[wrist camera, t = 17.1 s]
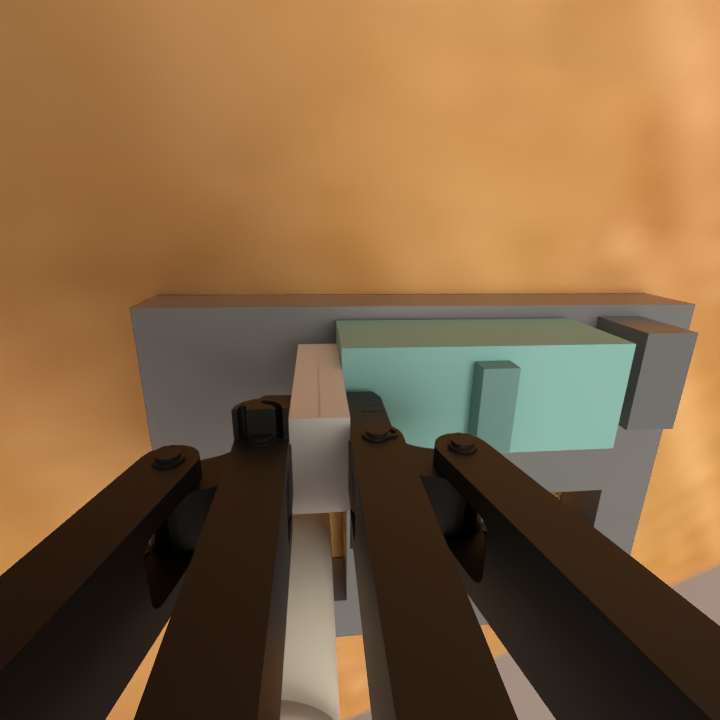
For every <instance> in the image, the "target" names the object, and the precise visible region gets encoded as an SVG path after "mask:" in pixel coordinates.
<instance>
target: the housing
mask: <svg viewBox="0 0 720 720" xmlns="http://www.w3.org/2000/svg"><path fill="white" fill-rule="evenodd" d="M694 308H695V304H691V303H686V302H682V301H677V300H673V299H669V298H664V297H660V296H655V295H651V294H646V293H632V294H353V295H156V296H154V297H152V298H150V299H148V300H146V301H144V302H142V303H140V304H137V305H135V306H133V307H131V308H130V312H131V318H132V324H133V331H134V337H135V344H136V350H137V356H138V363H139V369H140V375H141V382H142V388H143V395H144V401H145V407H146V414H147V420H148V426H149V433H150V439H151V446H152V451H154V450H156V449H159V448H160V447H163V446H169V445H186V446H191V447H194V448H195V449H197V450H198V451H199V455H200V460H203V459H207V458H212V457H216V456H220V455H223V454H226V453H228V452H230V451H231V448H232V445H233V443H234V435H233V424H232V413H231V410H232V409H233V408H234V407H235V406H236V405H238V404H240V403H242V402H244V401H248V400H252V399H260V398H261V397H263V396H264V395H292V389H293V381H294V373H295V366H296V358H297V351H298V344H336V320H431V319H536V318H571V319H573V320H576V321H578V322H581V323H584V324H586V325H589V326H591V327H594V328H596V329H599V330H602V331H604V332H607V333H609V334H612V335H615V336H617V337H620V338H622V339H625V340H628V341H630V342H633V343H635V344H636V348H635V352H634V357H633V361H632V366H631V370H630V374H629V379H628V383H627V388H626V392H625V397H624V401H623V406H622V410H621V415H620V419H619V424H618V428H617V433H616V437H615V442H614V446H613V448H608V449H584V450H560V451H536V452H513V453H501V454H502V455H503V456H504V457H506V458H507V459H508V460H509V461H511V462H512V463H513V464H514V465H516V466H517V467H518V468H520V469H521V470H522V471H523V472H525V473H526V474H527V475H528V476H530V477H531V478H532V479H534V480H535V481H536V482H537V483H539V484H540V485H541V486H542V487H544V488H545V489H546V490H548V491H549V492H550V493H551V492H562V498H561V502H563V503H564V504H565V505H567V506H568V507H569V508H570V509H572V510H573V511H574V512H575V513H577V514H578V515H579V516H581V517H582V518H583V519H584V520H586V521H587V522H588V523H589V524H591V525H592V526H593V527H594V528H596V529H597V530H598V531H600V532H601V533H602V534H603V535H605V536H606V537H607V538H608V539H610V540H611V541H612V542H614V543H615V544H616V545H617V546H619V547H620V548H621V549H622V550H624V551H625V552H626V553H627V554H629V555H630V553H631V550H632V546H633V542H634V538H635V534H636V530H637V527H638V523H639V519H640V515H641V511H642V507H643V503H644V500H645V496H646V492H647V488H648V484H649V480H650V477H651V473H652V469H653V465H654V461H655V457H656V454H657V450H658V446H659V442H660V438H661V434H662V430H663V429H673V425H674V421H675V418H676V414H677V410H678V406H679V403H680V399H681V395H682V391H683V388H684V384H685V380H686V377H687V373H688V369H689V365H690V362H691V358H692V354H693V350H694V347H695V343H696V339H697V336H698V333H697V332H693V331H690V330H689V327H690V323H691V319H692V315H693V311H694ZM482 521H483V519H482ZM483 522H484V521H483ZM332 571H333V592H334V612H335V633H336V637H342V636H354V635H363V633H362V625H361V616H360V607H359V598H358V589H357V580H356V571H355V562H354V554H353V549H350V511H348V512H343V557H339V558H332ZM467 595H468V594H467ZM468 597H469V596H468ZM469 600H470V602H471V604H472V607H473V609H474V612H475V614H476V617H477V619H478V622H479V624H480V625H486V624H488V622H487V621H486V620H485V618H484V617H483V615H482V614H481V612H480V611H479V610H478V608H477V607H476V605H475V604H474V603H473V601H472V600H471V598H470V597H469Z"/></svg>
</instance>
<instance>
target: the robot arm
mask: <svg viewBox="0 0 720 720" xmlns="http://www.w3.org/2000/svg"><path fill="white" fill-rule="evenodd" d="M231 413H232V424H233V435H234V443H233V445H232V448H231V451H230V452H228V453H226V454H223V455H220V456H216V457H212V458H207V459H203V460H200V455H199V451H198V450H197V449H195V448H194V447H191V446H186V445H169V446H163V447H160V448H159V449H156V450H154V451H151V452H149V453H147V454H146V455H144V456H143V457H141V458H140V459H139V460H138V461H136V462H135V463H134V464H133V465H132V466H131V467H129V468H128V469H127V470H126V471H125V472H123V473H122V474H121V475H120V476H119V477H117V478H116V479H115V480H114V481H113V482H112V483H110V484H109V485H108V486H107V487H106V488H104V489H103V490H102V491H101V492H100V493H98V494H97V495H96V496H95V497H94V498H92V499H91V500H90V501H89V502H88V503H87V504H85V505H84V506H83V507H82V508H81V509H79V510H78V511H77V512H76V513H75V514H73V515H72V516H71V517H70V518H69V519H68V520H66V521H65V522H64V523H63V524H62V525H60V526H59V527H58V528H57V529H56V530H54V531H53V532H52V533H51V534H50V535H49V536H47V537H46V538H45V539H44V540H43V541H41V542H40V543H39V544H38V545H37V546H35V547H34V548H33V549H32V550H31V551H30V552H28V553H27V554H26V555H25V556H24V557H22V558H21V559H20V560H19V561H18V562H16V563H15V564H14V565H13V566H12V567H11V568H9V569H8V570H7V571H6V572H5V573H3V574H2V575H1V576H0V720H105V719H106V718H107V716H108V714H109V713H110V711H111V710H112V708H113V707H114V705H115V703H116V702H117V700H118V699H119V697H120V696H121V694H122V692H123V691H124V689H125V688H126V686H127V685H128V683H129V681H130V680H131V678H132V677H133V675H134V673H135V672H136V670H137V669H138V667H139V666H140V664H141V662H142V661H143V659H144V658H145V656H146V655H147V653H148V651H149V650H150V648H151V647H152V645H153V644H154V642H155V640H156V639H157V637H158V636H159V634H160V633H161V631H162V629H163V628H164V626H165V625H166V623H167V622H168V620H169V618H170V617H171V618H170V620H169V623H168V626H167V629H166V632H165V634H164V637H163V640H162V643H161V645H160V648H159V651H158V654H157V657H156V659H155V662H154V665H153V668H152V670H151V673H150V676H149V679H148V682H147V684H146V687H145V690H144V693H143V695H142V698H141V701H140V704H139V707H138V709H137V712H136V715H135V718H134V720H280V710H281V695H282V680H283V665H284V651H285V636H286V621H287V606H288V591H289V577H290V562H291V547H292V532H293V520H292V512H293V514H311V513H330V512H348V511H350V549H353V554H354V562H355V571H356V580H357V589H358V598H359V607H360V616H361V625H362V633H363V642H364V651H365V660H366V669H367V678H368V687H369V696H370V705H371V713H372V720H518V718H517V716H516V714H515V711H514V708H513V706H512V704H511V701H510V698H509V696H508V693H507V691H506V689H505V686H504V684H503V681H502V679H501V676H500V674H499V671H498V669H497V666H496V664H495V661H494V659H493V656H492V654H491V651H490V649H489V646H488V644H487V642H486V639H485V637H484V634H483V632H482V629H481V627H480V624H479V622H478V619H477V617H476V614H475V612H474V609H473V607H472V604H471V602H470V600H469V597H470V598H471V600H472V601H473V603H474V604H475V605H476V607H477V608H478V610H479V611H480V612H481V614H482V615H483V617H484V618H485V620H486V621H487V622H488V624H489V625H490V627H491V628H492V629H493V631H494V632H495V634H496V635H497V637H498V638H499V639H500V641H501V642H502V644H503V645H504V646H505V648H506V649H507V651H508V652H509V654H510V655H511V656H512V658H513V659H514V661H515V662H516V663H517V665H518V666H519V668H520V669H521V671H522V672H523V673H524V675H525V676H526V678H527V679H528V680H529V682H530V683H531V685H532V686H533V687H534V689H535V690H536V692H537V693H538V694H539V696H540V697H541V699H542V700H543V702H544V703H545V705H546V706H547V707H548V709H549V710H550V711H551V713H552V714H553V716H554V717H555V719H556V720H720V626H719V625H718V624H716V623H715V622H714V621H713V620H711V619H710V618H709V617H707V616H706V615H705V614H704V613H702V612H701V611H700V610H699V609H697V608H696V607H695V606H693V605H692V604H691V603H690V602H688V601H687V600H686V599H685V598H683V597H682V596H681V595H680V594H678V593H677V592H676V591H674V590H673V589H672V588H671V587H669V586H668V585H667V584H666V583H664V582H663V581H662V580H660V579H659V578H658V577H657V576H655V575H654V574H653V573H652V572H650V571H649V570H648V569H647V568H645V567H644V566H643V565H641V564H640V563H639V562H638V561H636V560H635V559H634V558H633V557H631V556H630V555H629V554H627V553H626V552H625V551H624V550H622V549H621V548H620V547H619V546H617V545H616V544H615V543H614V542H612V541H611V540H610V539H608V538H607V537H606V536H605V535H603V534H602V533H601V532H600V531H598V530H597V529H596V528H594V527H593V526H592V525H591V524H589V523H588V522H587V521H586V520H584V519H583V518H582V517H581V516H579V515H578V514H577V513H575V512H574V511H573V510H572V509H570V508H569V507H568V506H567V505H565V504H564V503H563V502H561V501H560V500H559V499H558V498H556V497H555V496H554V495H553V494H551V493H550V492H549V491H548V490H546V489H545V488H544V487H542V486H541V485H540V484H539V483H537V482H536V481H535V480H534V479H532V478H531V477H530V476H528V475H527V474H526V473H525V472H523V471H522V470H521V469H520V468H518V467H517V466H516V465H514V464H513V463H512V462H511V461H509V460H508V459H507V458H506V457H504V456H503V455H502V454H501V453H499V452H498V451H497V450H495V449H494V448H493V447H492V446H490V445H489V444H488V443H487V442H485V441H483V440H482V439H480V438H478V437H475V436H472V435H470V434H467V433H463V434H462V433H459V432H456V433H448V434H445V435H441V436H439V437H438V438H437V439H436V440H435V445H434V449H432V448H424V447H418V446H413V445H411V444H408V443H406V441H405V439H404V436H403V434H402V433H401V432H400V431H399V430H398V429H396V428H395V427H393V426H392V425H391V423H390V420H389V417H388V415H387V412H386V409H385V407H384V404H383V401H382V399H381V397H380V396H378V395H377V394H376V393H374V392H373V391H367V392H346V391H345V385H344V380H343V374H342V369H341V363H340V358H339V352H338V346H337V344H298V351H297V358H296V366H295V373H294V381H293V389H292V395H264V396H263V397H261V398H260V399H252V400H248V401H244V402H242V403H240V404H238V405H236V406H235V407H234V408H233V409H232V410H231ZM482 519H483V521H484V522H483V521H482ZM467 594H468V595H467ZM468 596H469V597H468Z"/></svg>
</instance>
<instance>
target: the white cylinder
mask: <svg viewBox="0 0 720 720" xmlns="http://www.w3.org/2000/svg"><path fill="white" fill-rule="evenodd" d="M292 520H293V532H292V547H291V562H290V577H289V591H288V606H287V621H286V636H285V651H284V665H283V680H282V695H281V710H280V720H340V714H339V694H338V674H337V653H336V633H335V612H334V592H333V571H332V551H331V530H330V513H311V514H293V512H292Z"/></svg>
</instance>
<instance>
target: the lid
mask: <svg viewBox="0 0 720 720" xmlns="http://www.w3.org/2000/svg"><path fill="white" fill-rule="evenodd" d="M336 344H337V346H338V352H339V358H340V363H341V369H342V374H343V380H344V385H345V391H346V392H367V391H373V392H374V393H376V394H377V395H378V396H380V397H381V399H382V401H383V404H384V407H385V409H386V412H387V415H388V417H389V420H390V423H391V425H392V426H393V427H395V428H396V429H398V430H399V431H400V432H401V433H402V434H403V436H404V439H405V441H406V443H408V444H411V445H413V446H418V447H424V448H432V449H434V445H435V440H436V439H437V438H438V437H439V436H441V435H445V434H448V433H456V432H459V433H462V434H463V433H467V434H470V435H472V436H475V437H478V438H480V439H482V440H483V441H485V442H487V443H488V444H489V445H490V446H492V447H493V448H494V449H495V450H497V451H498V452H499V453H513V452H536V451H560V450H584V449H608V448H613V446H614V442H615V437H616V433H617V428H618V424H619V419H620V415H621V410H622V406H623V401H624V397H625V392H626V388H627V383H628V379H629V374H630V370H631V366H632V361H633V357H634V352H635V348H636V344H635V343H633V342H630V341H628V340H625V339H622V338H620V337H617V336H615V335H612V334H609V333H607V332H604V331H602V330H599V329H596V328H594V327H591V326H589V325H586V324H584V323H581V322H578V321H576V320H573V319H571V318H536V319H431V320H336Z"/></svg>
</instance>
